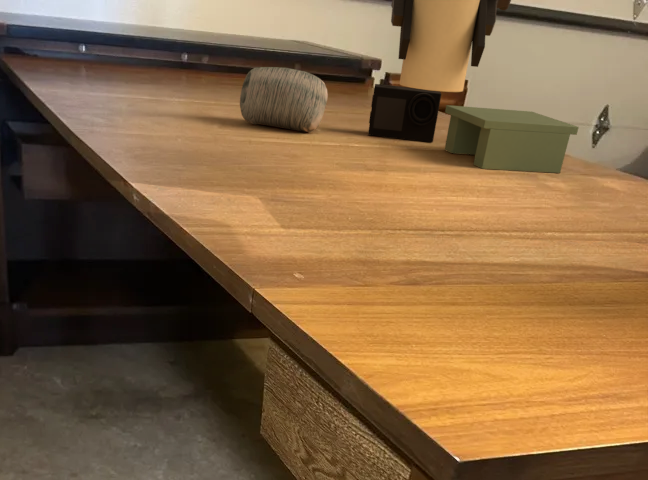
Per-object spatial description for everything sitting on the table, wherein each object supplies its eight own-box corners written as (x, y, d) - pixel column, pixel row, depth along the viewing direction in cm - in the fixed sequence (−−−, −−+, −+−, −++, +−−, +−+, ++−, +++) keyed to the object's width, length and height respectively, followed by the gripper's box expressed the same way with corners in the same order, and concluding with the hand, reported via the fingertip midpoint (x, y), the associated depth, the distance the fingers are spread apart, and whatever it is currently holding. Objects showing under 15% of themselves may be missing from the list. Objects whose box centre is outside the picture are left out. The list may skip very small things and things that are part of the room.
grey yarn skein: (220, 99, 123) (252, 35, 121) (242, 125, 132) (272, 66, 130) (294, 137, 120) (328, 72, 118) (311, 161, 129) (343, 101, 127)
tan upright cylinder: (448, 86, 94) (468, -30, 88) (473, 93, 88) (496, -30, 82) (391, 81, 92) (407, -37, 86) (412, 89, 86) (431, -37, 80)
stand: (522, 154, 127) (532, 111, 123) (566, 173, 115) (579, 126, 112) (438, 149, 123) (446, 105, 120) (475, 168, 112) (485, 120, 109)
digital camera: (367, 136, 128) (373, 86, 124) (367, 131, 133) (374, 82, 129) (433, 144, 128) (442, 93, 124) (431, 138, 132) (440, 90, 128)
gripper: (531, -85, 93) (524, 88, 89) (358, -103, 93) (342, 70, 89) (554, -152, 86) (548, 34, 82) (366, -171, 86) (349, 14, 82)
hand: (441, 52), depth 85 cm, fingers closed on tan upright cylinder, 7 cm apart
